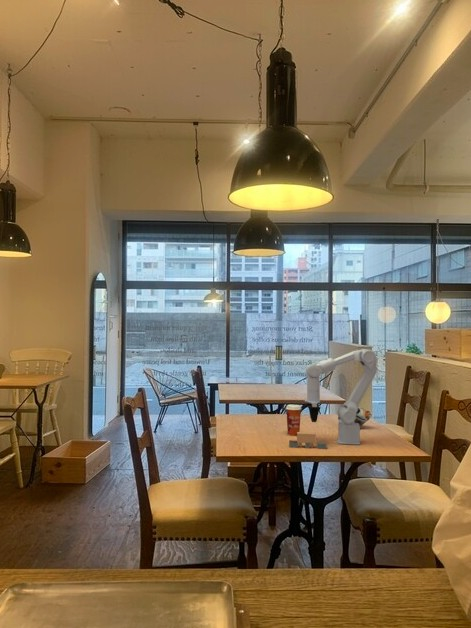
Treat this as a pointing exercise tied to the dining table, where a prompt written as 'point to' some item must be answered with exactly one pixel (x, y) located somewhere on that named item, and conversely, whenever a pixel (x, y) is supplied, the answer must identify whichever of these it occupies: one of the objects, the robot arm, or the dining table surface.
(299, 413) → the paper cup
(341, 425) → the robot arm
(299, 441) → the tan rectangular block
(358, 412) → the lucky cat figurine
